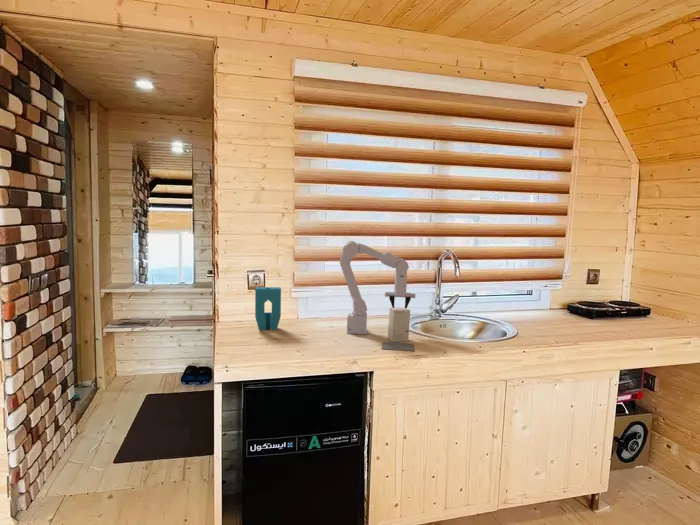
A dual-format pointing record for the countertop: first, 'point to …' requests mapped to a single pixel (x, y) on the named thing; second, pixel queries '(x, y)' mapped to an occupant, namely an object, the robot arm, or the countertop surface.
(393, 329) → the skincare box
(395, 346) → the mat
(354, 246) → the robot arm
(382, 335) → the countertop surface
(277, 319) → the block
